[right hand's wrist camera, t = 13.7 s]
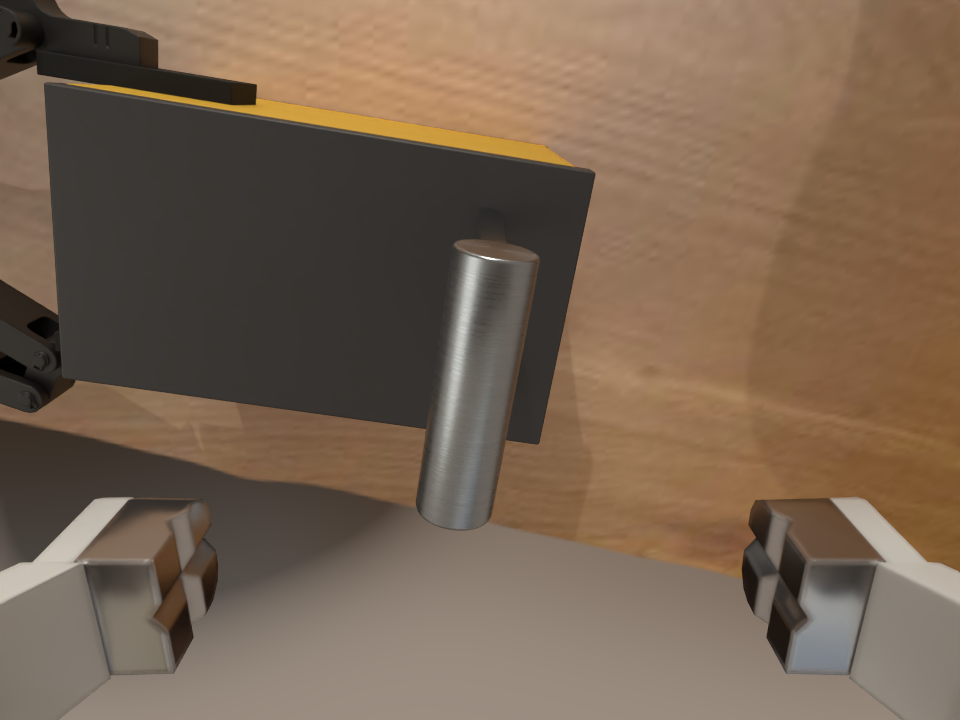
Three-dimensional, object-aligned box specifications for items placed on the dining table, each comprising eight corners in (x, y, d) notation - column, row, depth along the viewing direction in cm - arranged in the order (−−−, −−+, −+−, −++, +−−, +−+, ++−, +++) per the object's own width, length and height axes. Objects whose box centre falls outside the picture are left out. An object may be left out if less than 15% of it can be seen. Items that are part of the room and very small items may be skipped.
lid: (591, 169, 22) (660, 210, 13) (537, 433, 25) (565, 596, 17) (61, 82, 21) (-214, 70, 12) (76, 368, 24) (-133, 507, 16)
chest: (545, 145, 32) (577, 166, 22) (511, 334, 35) (525, 431, 25) (200, 88, 31) (61, 82, 21) (198, 288, 34) (77, 368, 24)
